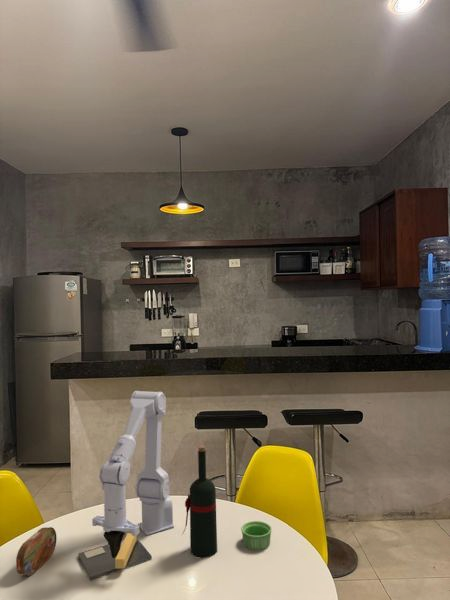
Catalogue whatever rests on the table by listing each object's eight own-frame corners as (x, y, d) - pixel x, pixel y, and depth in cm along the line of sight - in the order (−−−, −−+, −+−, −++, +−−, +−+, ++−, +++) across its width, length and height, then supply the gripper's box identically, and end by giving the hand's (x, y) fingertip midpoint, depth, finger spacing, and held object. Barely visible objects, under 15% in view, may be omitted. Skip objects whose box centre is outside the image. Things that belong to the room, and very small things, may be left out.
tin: (24, 582, 114) (24, 550, 114) (13, 581, 115) (13, 549, 115) (57, 550, 129) (57, 521, 129) (48, 549, 129) (47, 521, 129)
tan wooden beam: (129, 535, 133) (129, 527, 133) (138, 535, 133) (138, 527, 133) (114, 568, 116) (114, 559, 116) (125, 568, 116) (124, 559, 116)
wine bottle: (185, 542, 132) (183, 442, 132) (219, 543, 131) (216, 442, 131) (179, 557, 124) (177, 450, 124) (215, 558, 123) (213, 451, 123)
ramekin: (244, 533, 136) (243, 519, 136) (273, 536, 134) (272, 522, 134) (239, 550, 127) (238, 534, 127) (270, 552, 126) (270, 537, 126)
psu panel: (135, 538, 134) (135, 534, 134) (151, 559, 123) (151, 554, 123) (78, 556, 125) (78, 551, 125) (90, 580, 114) (90, 575, 114)
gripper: (84, 507, 119) (84, 557, 119) (127, 517, 113) (128, 570, 113) (101, 496, 126) (102, 544, 126) (143, 506, 120) (144, 556, 119)
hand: (115, 556), depth 120 cm, fingers closed, pressing on tan wooden beam
